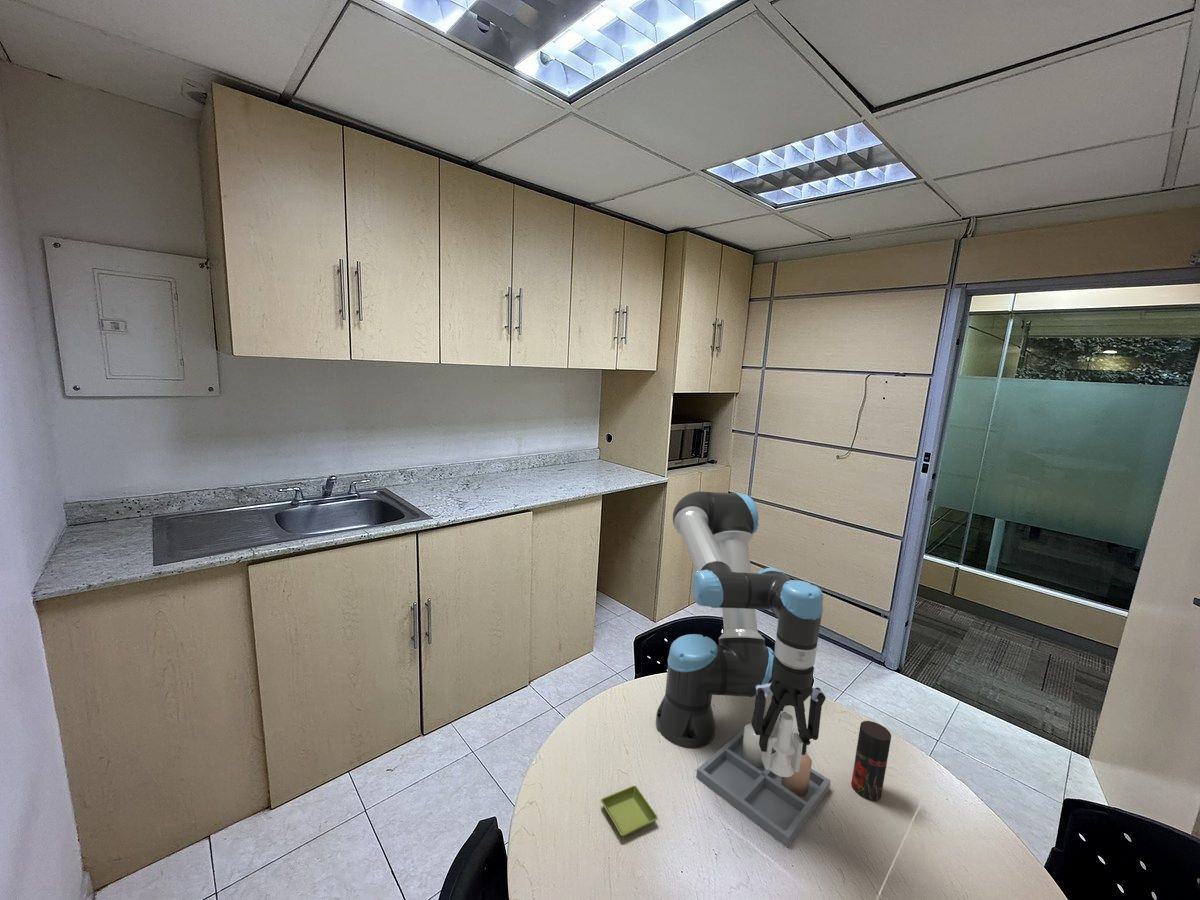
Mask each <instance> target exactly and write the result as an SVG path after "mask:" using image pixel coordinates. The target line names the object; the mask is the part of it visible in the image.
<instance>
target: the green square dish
mask: <svg viewBox="0 0 1200 900" xmlns="http://www.w3.org/2000/svg"><path fill="white" fill-rule="evenodd" d="M600 803H601V804H602V807H604V810H605V811H606V813H607V814H608V816H609V817H610V819H611V821H612V822H613V824H614V826H615V828H616V829H617V831H618V833H619V834H620V836H622V837H625V836H627V835H630V834H631V833H634V832H636V831H639V830H640V829H643V828H645V827H647V826H649V825H651V824H653V823H655V822H656V821H657V820H658V819H659V817H658V814H657V813H656V812H655V810H654V809H653V808H652V806H651V805H650V804H649V803H648V800H646V798H645V796H644V795H643V793H642V792H641V790H640V789H639V788H638V787H637V786H636V785H631V786H629V787H627V788H624V789H621V790H619V791H617V792H614V793H611V794H610V795H606V796H604V797H602V798H601V799H600Z"/></svg>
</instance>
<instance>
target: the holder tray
mask: <svg viewBox="0 0 1200 900" xmlns="http://www.w3.org/2000/svg"><path fill="white" fill-rule="evenodd" d="M744 729H745V727H744V728H742V729H741V730H739V731H738V733H737V734H735V735H734V736H733V737H732V738H731V739H730V740H728V741H727V742H726V743H725V744H724V745H723V746H722V747H721V748H719V749H718V750H717V751H716V752H715V753H714V754H713V755H711V756H710V757H709V758H708V759H707V760H706V761H704V762H703V763H702V764H701V765H700V766H699V767H697V769H696V776H695V777H696V779H698V781H699V782H701V783H702V784H704V785H705V786H707V788H709V789H710V790H711V791H713V792H714V794H717V795H718V796H719V797H720V798H721V799H723V800H724V801H726V802H727V803H728V804H730V806H733V807H734V808H735V809H736V810H737V811H738V812H740V814H742V815H744V816H745V817H746V818H748V819H749V820H750V821H751V822H753V823H754V824H756V825H757V826H758V827H760V829H762V830H763V831H764V832H766V833H767V834H768V835H770V836H771V837H772V838H773V839H775V840H776V841H777V842H778V843H780V844H781V845H783V846H784V847H785V848H788V847H789V846H790V845H791V843H792V842H793V840H794V839H795V838H796V836H797V835H798V833H799V832H800V830H801V829H802V828H803V827H804V825H805V824H806V822H807V821H808V820H809V819H810V818H811V815H812V814H813V812H814V811H815V810H816V808H817V807H818V806H819V804H820V803H821V801H822V800H823V799H824V797H825V795H827V794H828V791H830V787H831V781H832V780H830V779H829V778H828V777H826V776H824V775H822V773H819V772H818V771H817V770H814V769H813V768H811V772H810V779H809V786H808V792H807V794H806V795H805V796H802V797H799V796H797V795H796V794H794V793H793V792H791V791H790V790H788V789H787V788H785V787H784V786H782V783H781V779H782V777H781V776H778V775H776V774H774V773H773V772H772V771H771V770H770V769H769V770H766V769H765V767H764V766H763V767H760V768H756V767H754V766H753V765H751V764H750V763H748V762H747V761H746V760H744V759H743V758H742V757H741V753H742V745H743V737H744ZM775 752H776V750H774V749H773V747H772V752H771V755H772V754H774V753H775Z"/></svg>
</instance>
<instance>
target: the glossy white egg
mask: <svg viewBox="0 0 1200 900" xmlns="http://www.w3.org/2000/svg"><path fill="white" fill-rule="evenodd" d="M744 728H745V729H744V737H743V745H742V753H741V757H742V758H743V759H744V760H746V761H747V762H748V763H750V764H751V765H753V766H754V767H756V768H760V767H763V766H764V764H763V762H762V760H761V757H762V751H761V749H760V746H759V739H760V735H756V734H755V732H754V729H753V727H752V723H748V724H745V726H744Z"/></svg>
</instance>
